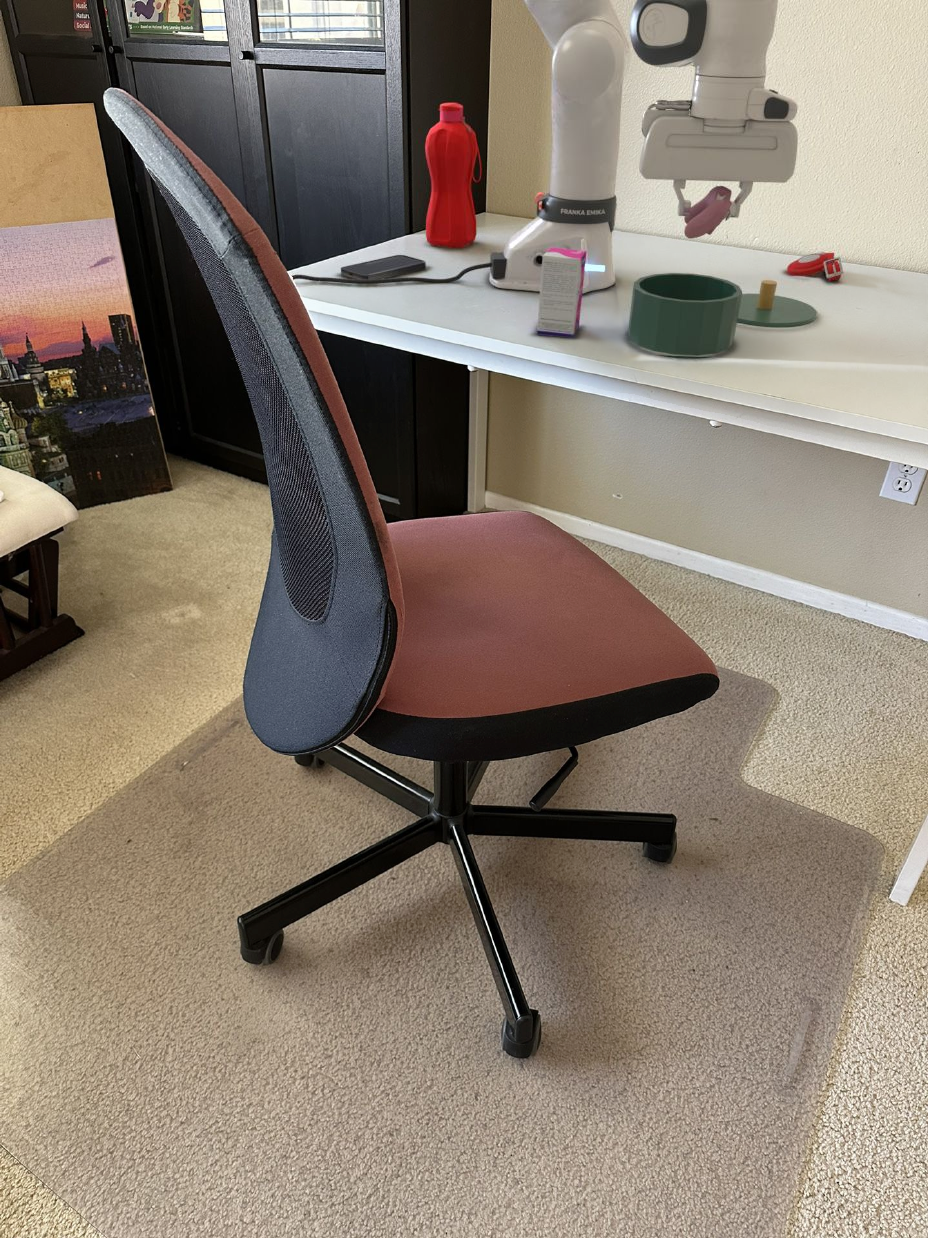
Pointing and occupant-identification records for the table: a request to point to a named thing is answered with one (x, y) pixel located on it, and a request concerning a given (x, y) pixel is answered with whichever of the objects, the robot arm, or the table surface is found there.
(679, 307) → the tin
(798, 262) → the tracker holder
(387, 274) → the phone
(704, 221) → the video game controller
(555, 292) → the supplement box
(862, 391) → the table surface
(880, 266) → the table surface
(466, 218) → the water bottle
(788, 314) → the tin lid
